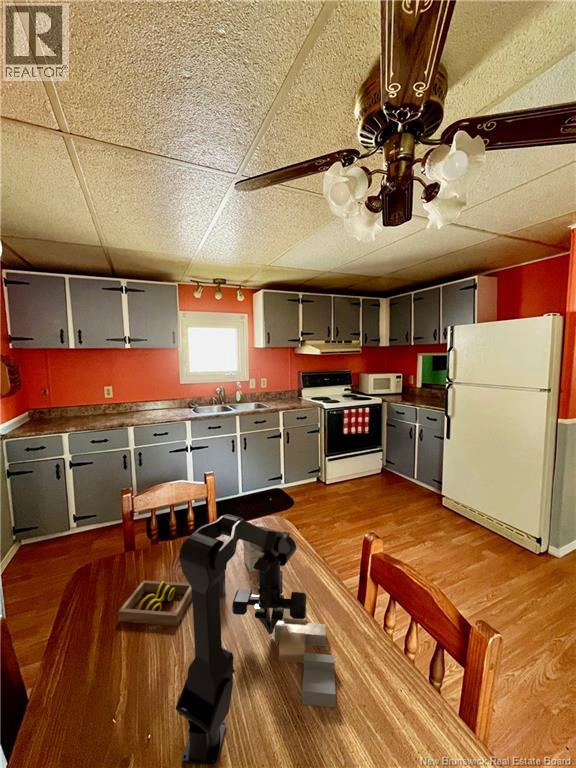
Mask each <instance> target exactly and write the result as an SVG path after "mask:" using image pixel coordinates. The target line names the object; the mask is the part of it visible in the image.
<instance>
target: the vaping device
mask: <svg viewBox="0 0 576 768" xmlns="http://www.w3.org/2000/svg"><path fill="white" fill-rule="evenodd" d="M225 596H226V571H225V572H224V573H223V575H222V577H221V578H220V580H219V597H220V599H221V598H224V597H225Z"/></svg>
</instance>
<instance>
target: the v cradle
mask: <svg viewBox="0 0 576 768" xmlns="http://www.w3.org/2000/svg"><path fill="white" fill-rule="evenodd" d="M335 678H336V677H335V655H333V654H323V653H321V654H320V653H312V652H305V653H304V663H303V675H302V684H301V686H302V687H301V704H302V705H309V706H310V705H311V706H318V707H327V708H328V707H329V708H336V704H337V703H336V699H337V698H336V682H335V681H336V680H335Z"/></svg>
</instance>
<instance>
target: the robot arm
mask: <svg viewBox="0 0 576 768" xmlns="http://www.w3.org/2000/svg"><path fill="white" fill-rule="evenodd" d="M255 525H256V524H254V523H250V522H249V521H246V520H245V519H244V518H243V517H240V516H236V515H233V514H229V513H227V514H223V515H221V516H220V517H219V518H217V519H216V520H214V521H212V522H210V523H207V524H205V525H201V527H198V529H196V530H195V531H194V532H192V534H191V535H189V536H188V537H187V538H186V539H185V540H184V541H183V543H182V544H181V546H180V549H179V562H180V567H181V571H182V574H183V576H184V578H185V579H186V581H187V583H189V584H190V586H191V588H192V599H191V602H192V604H191V605H192V618H193V619H192V621H193V622H192V623H193V639H194V658H193V660H192V662H191V663H190V665H189V666H188V669H187V675H186V676H187V677H186V680H185V682H184V685H183V688H182V691H181V693H180V696H179V698H178V700H177V704H176V705H175V711H176V713H177V714H179V715H180V716H182V717H183V718H185V719H186V720H187V727H188V739H187V741H186V744H185V747H184V750H183V753H182V755H181V760H182V763H187V764H194V765H201V764H207V765H206V766H208V765H214V764H216V765H217V763H218V760H217V759H219V755H220V751H221V747H222V743H223V740H224V736H225V731H226V728H227V722H226V721H225V718H227V715H228V714H229V712H230V708H231V702H232V701H231V699H232V694H233V688H234V683H233V681H234V680H233V679H234V677H233V674H235V669H234V654H233V652H231V651H229V650H228V649H226V648H224V647H223V645H222V644H223V643H222V623H221V622H222V621H221V601H220V599H221V598H220V597H219V580H220V578H221V577H222V575H223V573H224V572H225V573H226V570H227V565H228V564H227V563H229V561H230V560H232V558H233V557H234V556H235V554H236V549H237V546H238V545H237V544H238V541H239V540H241V541H246V542H249V543H250V546H251V547H252V548H253V549H254V550H256V551H259V552H262V553H263V554H262V555H261V556H260V557H259V558H258V561H257V562H256V563H255V565H254V569H256V570H257V576H256V577H257V579H256V580H257V581H256V582H257V583H258V586H257V587H258V589H257V590H258V591H257V593H258V595H257V594H253V589H252V588H238V589H237V590H236V593H235V595H234V597H233V601H232V605H231V606H232V607H231V608H232V609H231V610H232V613H233V615H239V616H240V615H242V616H243V615H246V614H247V612H248V606H254V609H255V611H254V619H258V620H259V622H260V623H261V624H262V625H263V627H264V628H265V630H266V632H267V634H268V635H273V632H274V631H275V626H276V624H277V622H278V621H282V620H283V617H284V611H285V609H290V616H291V617H292V618H293V619H304V618H306V608H307V595H306V593H305V592H300V591H299V592H298V591H291V593H290V598H287V597H286V596H285V595H284V594H283V575H284V574H283V571H282V570H281V567H283V566H286V564H287V563H288V562H289V560H290V559H291V558H292V557H293V555H294V554H295V553H296V550H297V544H296V542H295V540H294V539H293V538H292V537H291V533H290V532H287V531H283V532H282V531H279V530H275V529H273V528H268V527H265V526H264V527H262V526H255ZM222 535H223V536H226V537H229V538H228V540H226V541H223V540H220V539H218V538H219V537H221V536H222ZM285 597H286V598H285ZM270 609H272V611H271V613H270ZM213 760H215V761H213ZM216 762H217V763H216Z"/></svg>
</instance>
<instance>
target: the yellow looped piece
mask: <svg viewBox="0 0 576 768" xmlns="http://www.w3.org/2000/svg"><path fill="white" fill-rule="evenodd" d="M161 581H162V582H161V584H160V586H159V588H158V590H157V593H156V594H154V593H150V594H147V595H146V596H145V597H144V598H143V599H142V600H141V602H140V603H139V606H138V610H149V611H161V610H162V602H163V601H168V602H171V601H172V599H174V596H175V594H174V593H175V588H172V587H171V586H170V585H167V584H165V582H166V581H165V580H161Z"/></svg>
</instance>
